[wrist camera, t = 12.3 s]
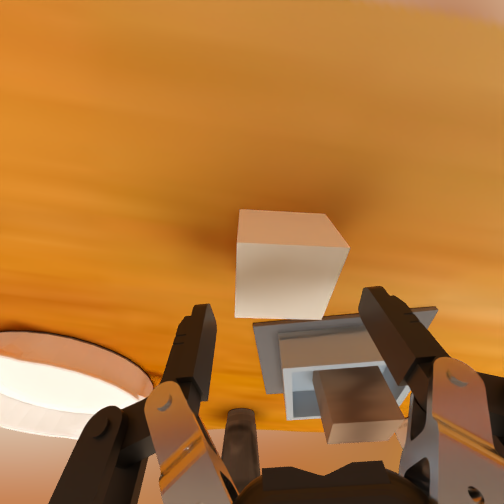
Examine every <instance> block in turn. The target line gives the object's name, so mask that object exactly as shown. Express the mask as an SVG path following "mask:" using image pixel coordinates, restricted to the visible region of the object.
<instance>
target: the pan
mask: <svg viewBox="0 0 504 504" xmlns="http://www.w3.org/2000/svg"><path fill="white" fill-rule="evenodd" d="M152 391H153V385H152V382H151V380H150V379H149V377H148V375H147V374H146V373H145V372H144V371H143V370H142V369H141V368H140V367H139V366H137V365H136V364H134V363H133V362H132V361H130V360H129V359H127V358H125V357H123V356H121V355H119V354H117V353H115V352H113V351H111V350H109V349H106V348H103V347H101V346H98V345H96V344H93V343H89V342H86V341H83V340H79V339H76V338H72V337H67V336H62V335H57V334H52V333H43V332H33V331H4V332H0V427H2V428H6V429H10V430H14V431H20V432H25V433H31V434H37V435H44V436H51V437H62V438H70V439H77V440H78V439H79V437H80V435H81V432H82V430H83V428H84V427H85V425H86V424H87V422H88V421H89V420H90V418H91V417H92V416H93V415H94V414H96V413H97V412H98V411H99V410H101V409H103V408H105V407H107V406H117V407H119V408H120V409H123V408H125V407H128V406H130V405H132V404H134V403H136V402H139V401H141V400H143V399H145V398H146V397H148V396H149V395H150V393H151V392H152Z"/></svg>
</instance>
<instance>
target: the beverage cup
mask: <svg viewBox="0 0 504 504" xmlns="http://www.w3.org/2000/svg"><path fill="white" fill-rule="evenodd" d="M221 459H222V461H223V463H224V465H225V466H226V468H227V470H228V472H229V474H230V476H231V478H232V480H233V482H234V484H235V487H236V489H237V491H238V493H239V494H240V493H241V492H242V490H243V489H244V488H245V487H246V486H247V485H248V484H249V483H250V482H251V481H253V480H254V479H255V478H257V477H259V476H260V468H259V455H258V445H257V432H256V424H255V418H254V412H253V411H252V410H250V409H244V408H239V409H233V410H231V411H229V412H228V418H227V423H226V428H225V435H224V443H223V451H222V457H221Z"/></svg>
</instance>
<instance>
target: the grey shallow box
mask: <svg viewBox="0 0 504 504" xmlns="http://www.w3.org/2000/svg"><path fill="white" fill-rule="evenodd" d="M411 311H412V312H413V314H415V315H416V317H417V318H418V319H419V320H420V322H421V323H422V324H423V325H424V326H425V327H426V329H428V327H429V325H430V324H431V322H432V320H433V318H434V317H435V315H436V313H437V312H438V309H437V308H436V307H426V308H415V309H411ZM253 329H254V334H255V339H256V344H257V349H258V354H259V359H260V364H261V369H262V374H263V379H264V384H265V389H266V394H276V393H284V400H285V408H286V416H287V420H300V419H316V418H321V415H320V411H319V407H318V402H317V398H316V394H315V390H314V386H313V381H312V379H313V371H315V370H328V369H341V368H354V367H367V366H378V367H379V369H380V371H381V373H382V375H383V377H384V379H385V381H386V383H387V385H388V386H389V388H390V390H391V392H392V394H393V396H394V398H395V400H396V402H397V404H398V406H400V405H401V403H402V402H403V400H404V399H405V398H406V396H407V395H408V393H409V392H410V388H409V386H408V385H407V386H398V385H397V383H396V382H395V380H394V378H393V376H392V374H391V373H390V371H389V369H388V367H387V365H386V364H385V362H384V360H383V358H382V356H381V354H380V353H379V351H378V349H377V347H376V345H375V344H374V342H373V340H372V338H371V336H370V335H369V333H368V331H367V329H366V327H365V326H364V324H363V322H362V320H361V318H360V315H359V314H350V315H339V316H328V317H322V320H305V319H296V320H285V321H274V322H263V323H253Z"/></svg>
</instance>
